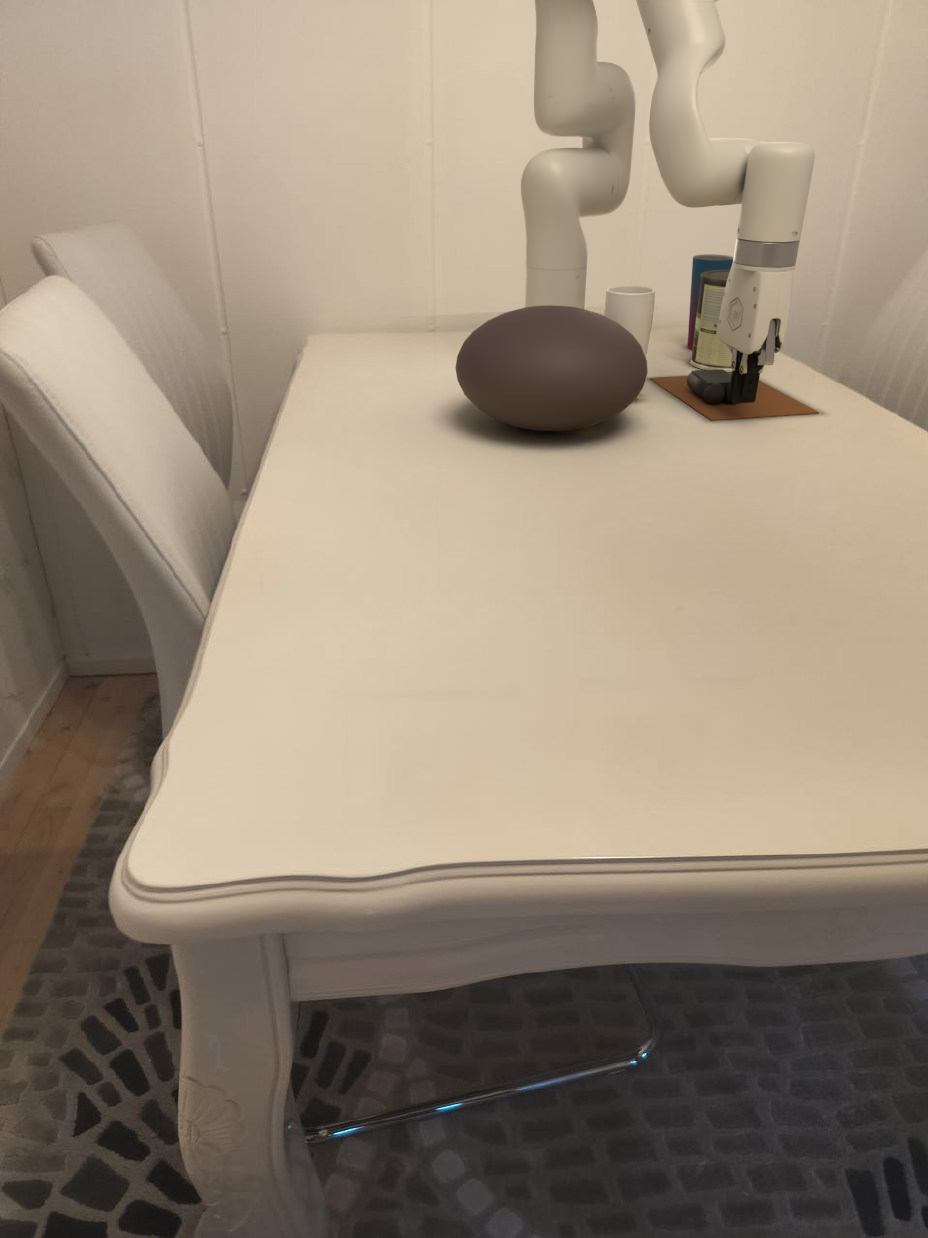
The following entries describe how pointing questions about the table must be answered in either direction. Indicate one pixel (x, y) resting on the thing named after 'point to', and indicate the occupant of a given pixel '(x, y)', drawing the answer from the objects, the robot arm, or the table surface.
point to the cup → (699, 266)
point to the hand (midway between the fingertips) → (741, 400)
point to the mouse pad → (764, 405)
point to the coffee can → (710, 324)
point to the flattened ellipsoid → (551, 368)
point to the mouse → (710, 385)
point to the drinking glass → (632, 311)
